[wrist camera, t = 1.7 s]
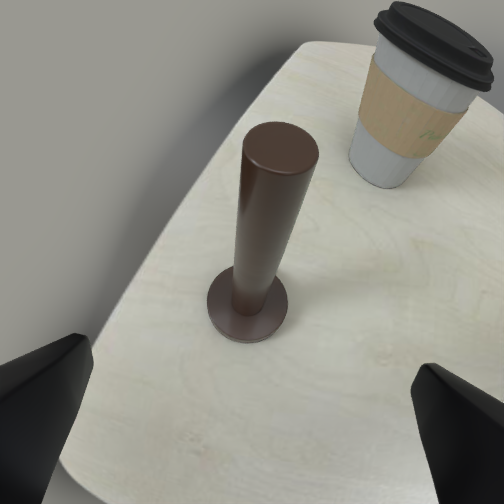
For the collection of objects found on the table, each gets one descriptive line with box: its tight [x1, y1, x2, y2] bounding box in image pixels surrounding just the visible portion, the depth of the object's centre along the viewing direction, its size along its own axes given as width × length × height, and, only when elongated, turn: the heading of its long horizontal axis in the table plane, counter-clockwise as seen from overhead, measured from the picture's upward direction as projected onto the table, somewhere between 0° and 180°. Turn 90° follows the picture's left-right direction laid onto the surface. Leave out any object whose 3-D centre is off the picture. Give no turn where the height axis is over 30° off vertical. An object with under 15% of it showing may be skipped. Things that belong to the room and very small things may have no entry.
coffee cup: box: [349, 1, 494, 188], centre depth 20 cm, size 9×9×15 cm
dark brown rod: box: [207, 122, 319, 343], centre depth 14 cm, size 5×5×14 cm
